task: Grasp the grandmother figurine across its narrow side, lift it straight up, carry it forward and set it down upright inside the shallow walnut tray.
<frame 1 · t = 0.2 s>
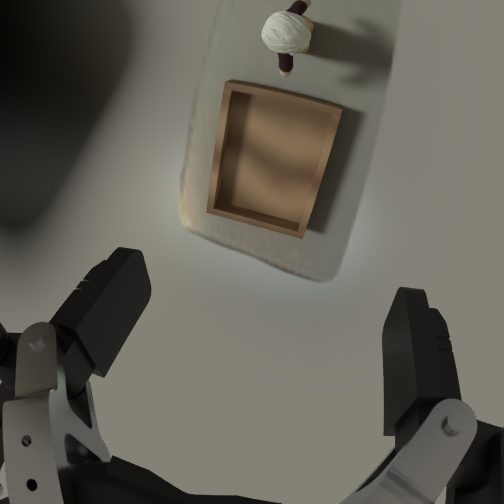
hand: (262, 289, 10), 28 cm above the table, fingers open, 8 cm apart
walnut tray: (271, 157, 36), on the table
grandmother figurine: (297, 38, 27), on the table
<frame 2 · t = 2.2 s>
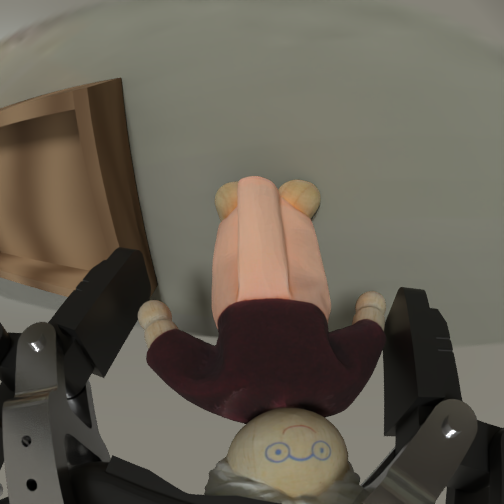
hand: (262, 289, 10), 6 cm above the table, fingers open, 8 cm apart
walnut tray: (36, 192, 17), on the table
grandmother figurine: (254, 205, 14), on the table, touching gripper
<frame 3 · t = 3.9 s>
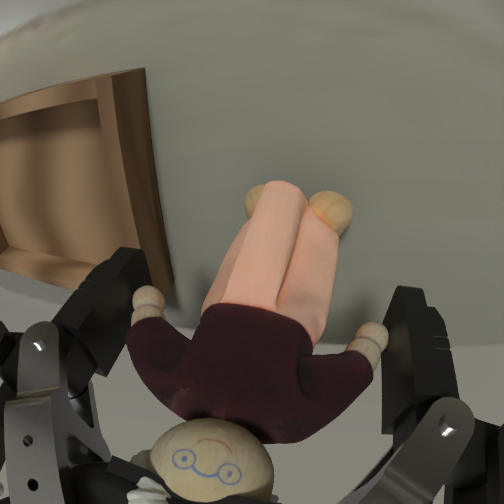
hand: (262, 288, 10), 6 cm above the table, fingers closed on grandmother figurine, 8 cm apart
walnut tray: (48, 185, 16), on the table
grandmother figurine: (285, 211, 14), point 1 cm above the table, touching gripper
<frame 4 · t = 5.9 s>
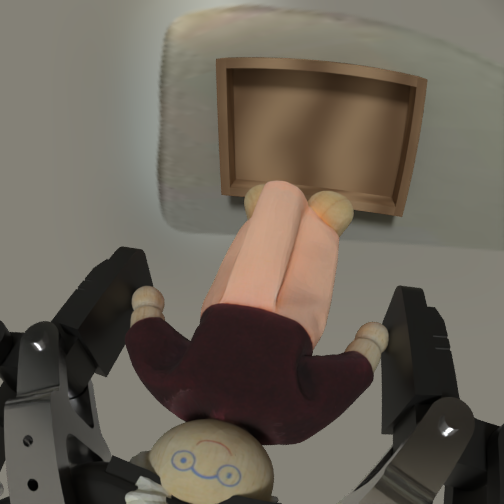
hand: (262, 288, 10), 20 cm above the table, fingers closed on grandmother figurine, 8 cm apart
walnut tray: (319, 129, 25), on the table
grandmother figurine: (284, 211, 13), point 15 cm above the table, touching gripper
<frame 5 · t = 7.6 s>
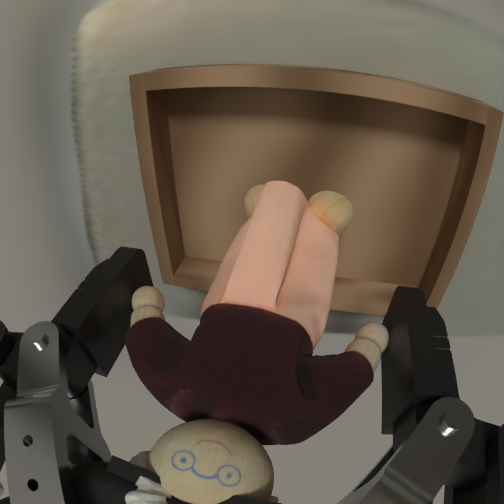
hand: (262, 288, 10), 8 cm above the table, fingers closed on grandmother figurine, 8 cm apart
walnut tray: (311, 185, 16), on the table
grandmother figurine: (285, 211, 13), point 3 cm above the table, touching gripper
when the fingers open (7 cm above the table, at t = 9.0 s): grandmother figurine drops 2 cm, resting on walnut tray.
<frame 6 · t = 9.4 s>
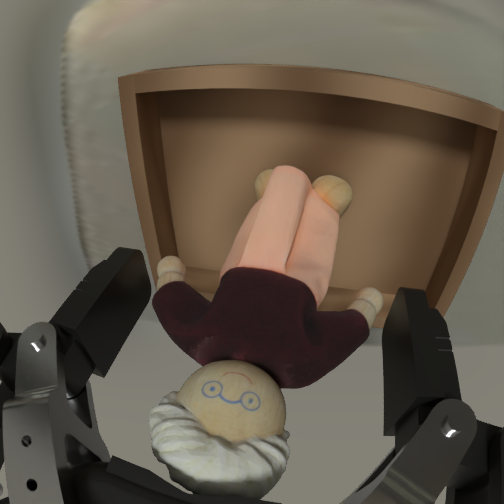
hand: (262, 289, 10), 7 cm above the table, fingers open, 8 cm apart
walnut tray: (311, 192, 15), on the table
grandmother figurine: (291, 194, 15), resting on walnut tray
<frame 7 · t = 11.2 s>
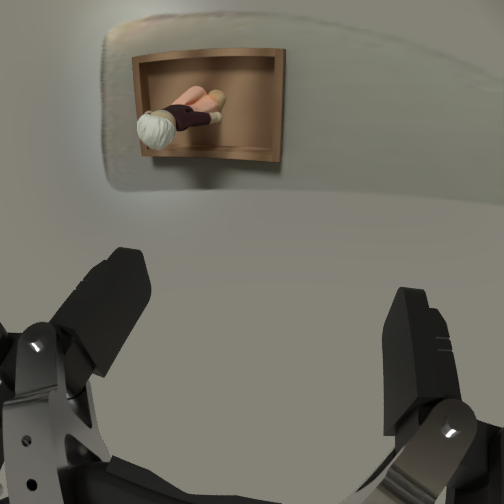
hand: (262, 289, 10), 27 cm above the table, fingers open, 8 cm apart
walnut tray: (210, 100, 32), on the table
grandmother figurine: (201, 100, 32), resting on walnut tray
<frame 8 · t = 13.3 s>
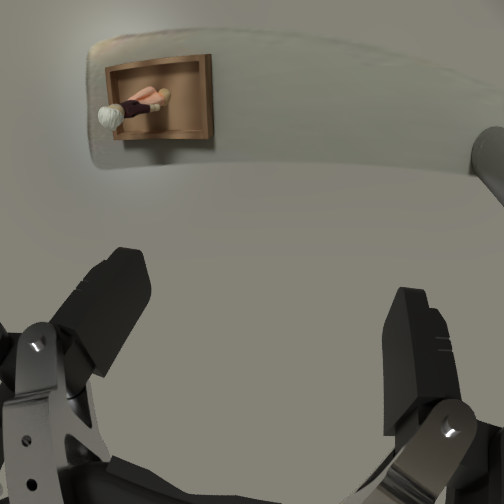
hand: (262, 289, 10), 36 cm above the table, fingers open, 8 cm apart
walnut tray: (161, 96, 42), on the table
grandmother figurine: (154, 97, 42), resting on walnut tray
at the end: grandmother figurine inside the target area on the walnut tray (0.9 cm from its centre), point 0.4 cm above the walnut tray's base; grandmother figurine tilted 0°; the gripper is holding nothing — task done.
